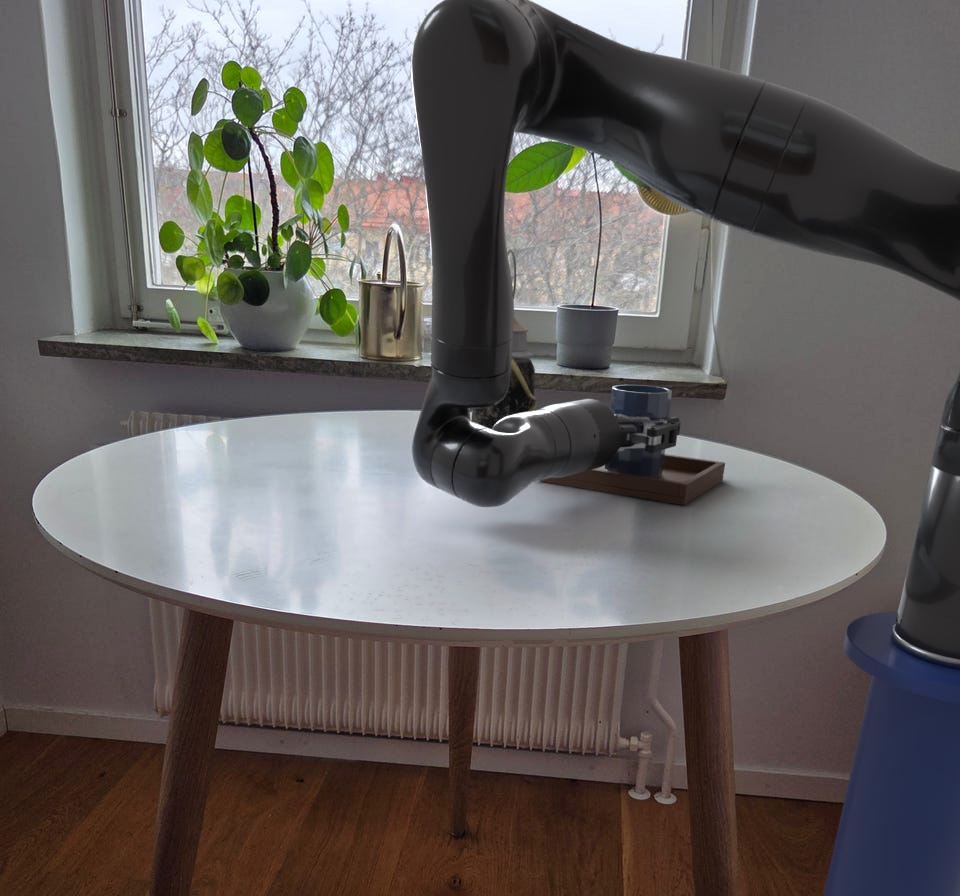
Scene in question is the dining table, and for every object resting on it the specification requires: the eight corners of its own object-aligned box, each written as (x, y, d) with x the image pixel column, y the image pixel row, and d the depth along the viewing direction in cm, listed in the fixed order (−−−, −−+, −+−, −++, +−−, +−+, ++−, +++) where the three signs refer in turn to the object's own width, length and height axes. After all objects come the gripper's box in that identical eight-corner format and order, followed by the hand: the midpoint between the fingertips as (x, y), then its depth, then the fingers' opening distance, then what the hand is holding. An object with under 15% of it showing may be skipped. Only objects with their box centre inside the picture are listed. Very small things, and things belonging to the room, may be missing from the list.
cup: (669, 473, 113) (679, 389, 109) (649, 484, 107) (659, 395, 103) (617, 465, 116) (625, 383, 112) (595, 475, 110) (602, 388, 106)
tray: (722, 481, 114) (725, 462, 113) (684, 505, 102) (686, 484, 101) (590, 461, 122) (591, 443, 121) (539, 481, 110) (541, 462, 109)
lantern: (464, 453, 123) (471, 248, 113) (524, 453, 125) (536, 250, 115) (476, 468, 115) (484, 248, 106) (540, 468, 117) (554, 251, 107)
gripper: (629, 412, 93) (706, 397, 105) (516, 394, 102) (599, 382, 114) (622, 485, 96) (698, 463, 108) (512, 462, 105) (594, 444, 116)
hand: (647, 421), depth 111 cm, fingers closed on cup, 7 cm apart
